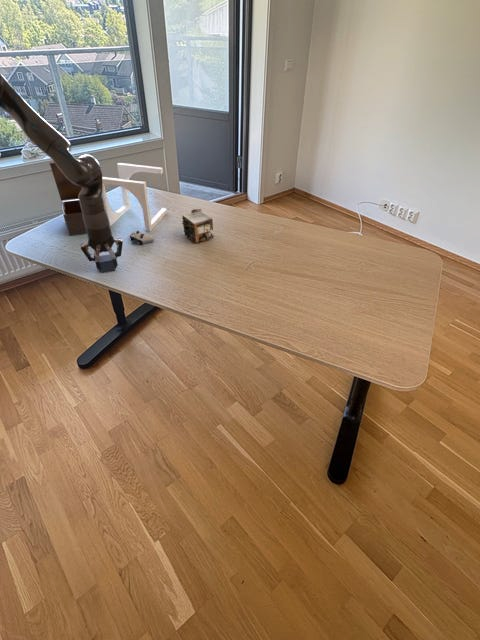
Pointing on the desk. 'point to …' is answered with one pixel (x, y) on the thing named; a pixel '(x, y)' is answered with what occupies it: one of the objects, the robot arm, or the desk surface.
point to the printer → (197, 225)
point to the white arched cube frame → (136, 189)
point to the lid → (64, 184)
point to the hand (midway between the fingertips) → (107, 268)
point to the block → (106, 263)
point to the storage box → (73, 217)
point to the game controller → (141, 237)
